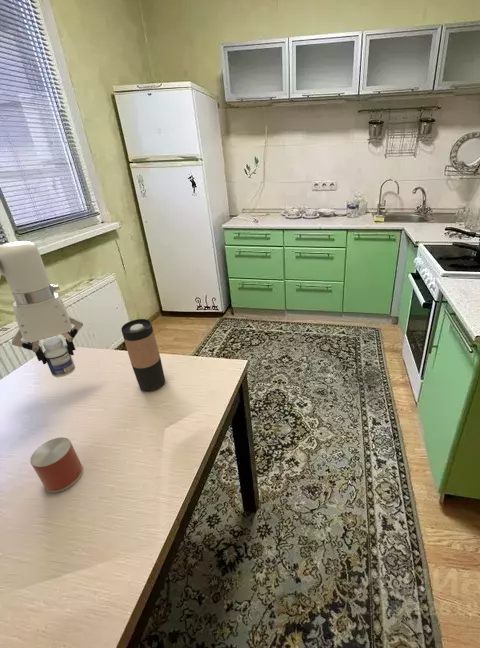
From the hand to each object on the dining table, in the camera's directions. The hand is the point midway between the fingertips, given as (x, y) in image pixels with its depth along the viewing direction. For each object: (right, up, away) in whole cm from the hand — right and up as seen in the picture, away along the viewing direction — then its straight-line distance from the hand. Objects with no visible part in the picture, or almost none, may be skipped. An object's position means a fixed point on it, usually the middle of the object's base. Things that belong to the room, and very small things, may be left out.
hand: (58, 356), depth 85 cm
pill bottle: (0, -5, +2) cm, 5 cm away
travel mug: (+20, -10, +11) cm, 25 cm away
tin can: (+12, -23, -15) cm, 31 cm away
